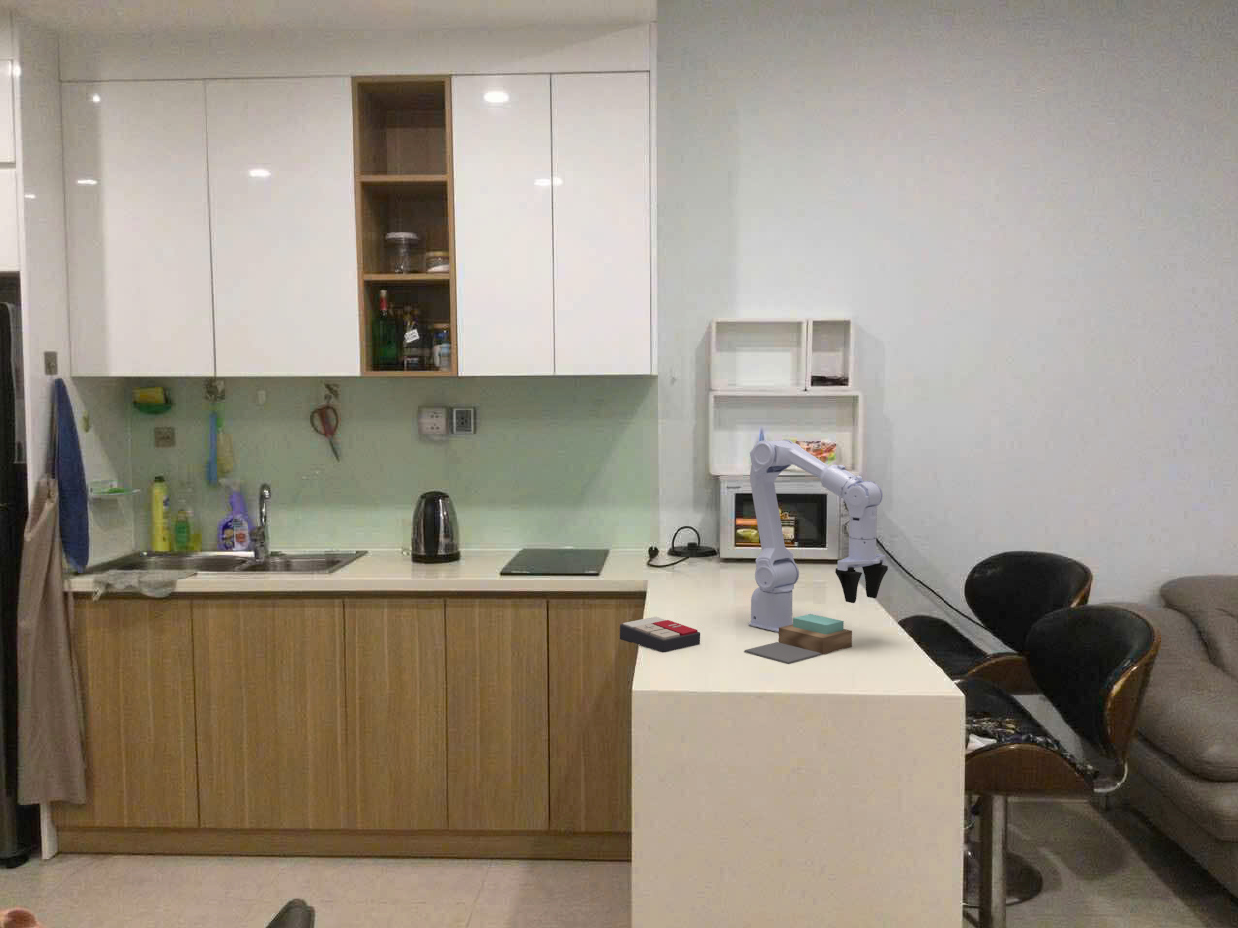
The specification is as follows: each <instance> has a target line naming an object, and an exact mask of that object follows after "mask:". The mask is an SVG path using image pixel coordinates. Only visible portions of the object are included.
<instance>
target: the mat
mask: <svg viewBox="0 0 1238 928" xmlns="http://www.w3.org/2000/svg"><path fill="white" fill-rule="evenodd" d="M743 652H744V653H747V654H750V655H754V656H758V657H762V658H765V659H768V660H772V661H777V662H780V663H784V664H787V665H790V664H794V663H798V662H802V661H804V660H805V661H806V660H808V659H812V658H817V657H819V656H822V654H821V653H819V652H815V651H811V650H807V649H803V648H799V647H795V646H791V645H787V644H783V643H779V641H775V642H771V643H768V644H764V645H760V646H755V647H751V648H747V649H744V651H743Z"/></svg>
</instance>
